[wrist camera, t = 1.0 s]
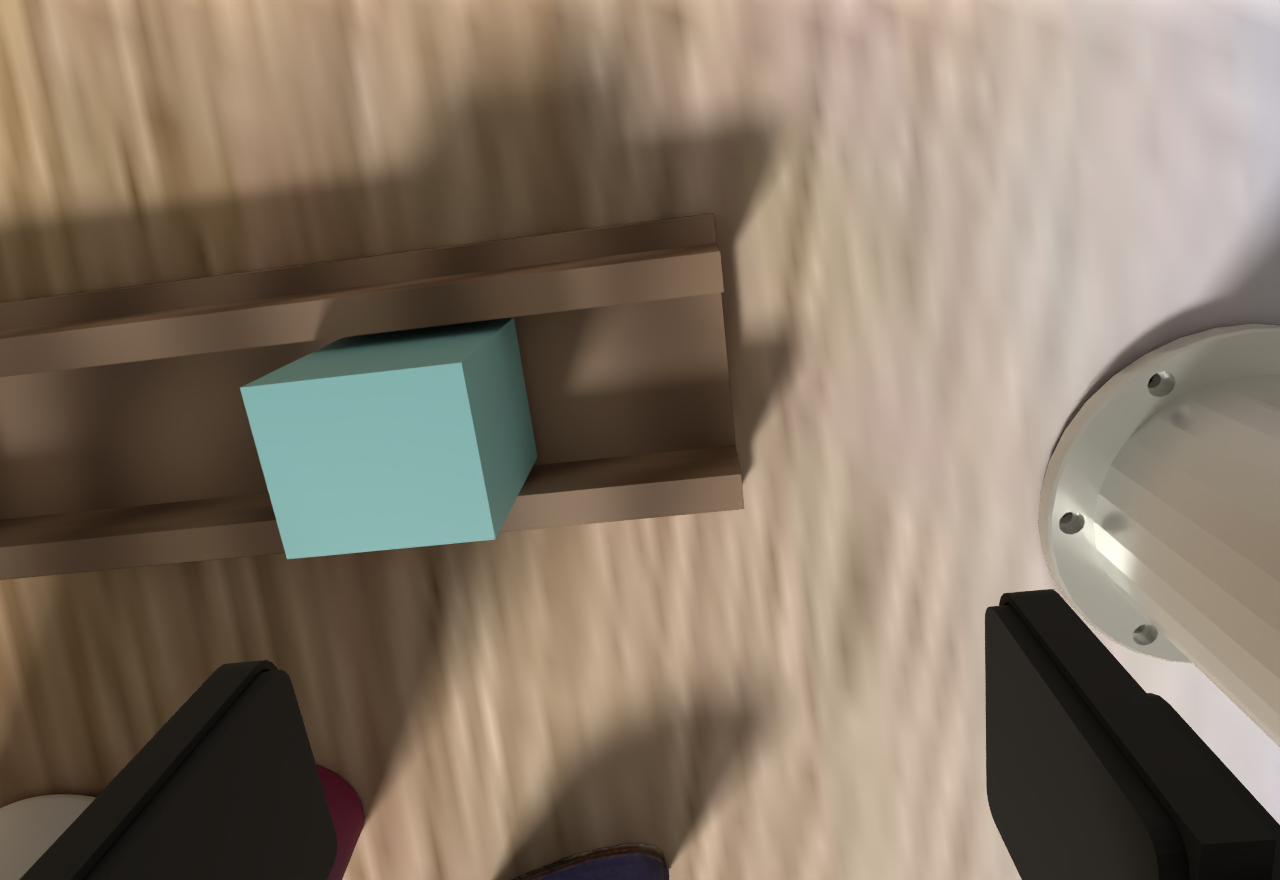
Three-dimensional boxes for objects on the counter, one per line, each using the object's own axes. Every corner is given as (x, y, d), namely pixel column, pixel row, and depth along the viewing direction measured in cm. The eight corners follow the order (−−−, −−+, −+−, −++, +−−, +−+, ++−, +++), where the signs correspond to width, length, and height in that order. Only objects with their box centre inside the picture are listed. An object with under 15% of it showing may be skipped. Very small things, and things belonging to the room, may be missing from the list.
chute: (712, 213, 28) (717, 220, 24) (739, 489, 31) (747, 540, 27) (-108, 316, 31) (-237, 340, 26) (-12, 562, 34) (-113, 619, 29)
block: (513, 317, 28) (461, 362, 22) (537, 457, 30) (495, 539, 23) (342, 337, 29) (239, 387, 22) (374, 473, 30) (287, 559, 24)
